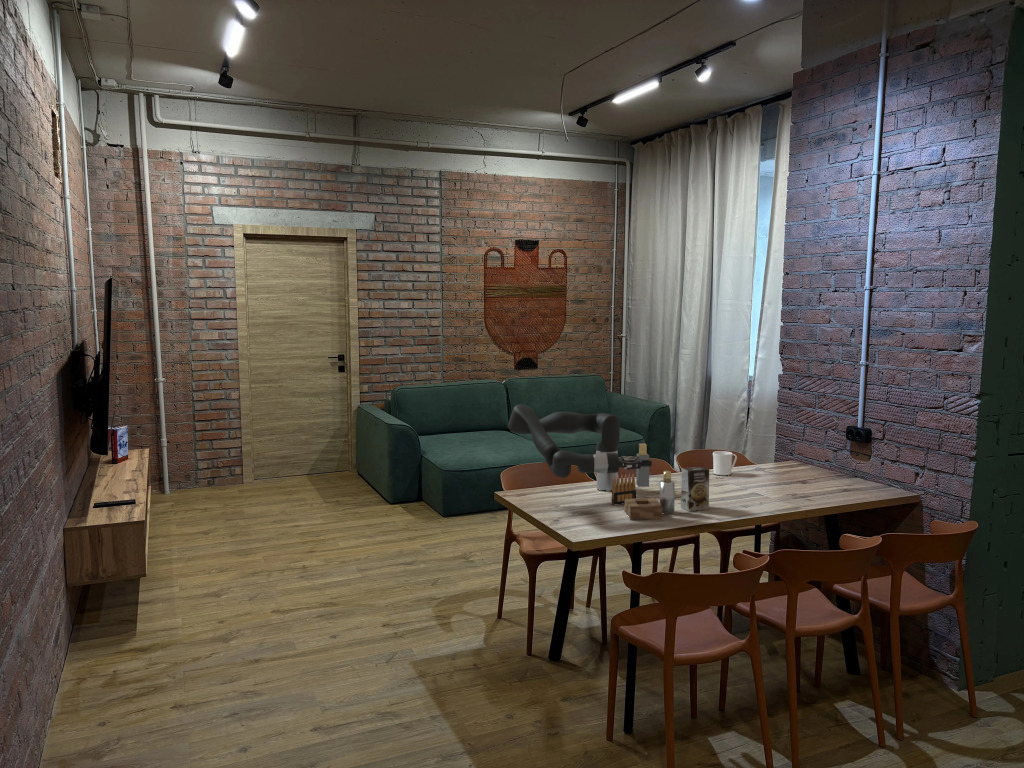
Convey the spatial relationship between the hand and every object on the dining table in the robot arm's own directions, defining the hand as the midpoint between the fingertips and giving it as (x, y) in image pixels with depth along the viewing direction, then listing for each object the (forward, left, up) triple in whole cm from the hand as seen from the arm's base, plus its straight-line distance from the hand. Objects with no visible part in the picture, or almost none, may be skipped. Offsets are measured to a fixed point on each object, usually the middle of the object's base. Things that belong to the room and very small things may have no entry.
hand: (650, 462), depth 273 cm
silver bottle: (-3, +7, -21) cm, 22 cm away
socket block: (0, -3, -21) cm, 21 cm away
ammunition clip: (-18, -7, -21) cm, 28 cm away
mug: (-63, +49, -21) cm, 83 cm away
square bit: (0, -3, -9) cm, 9 cm away
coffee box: (-7, +19, -21) cm, 29 cm away
